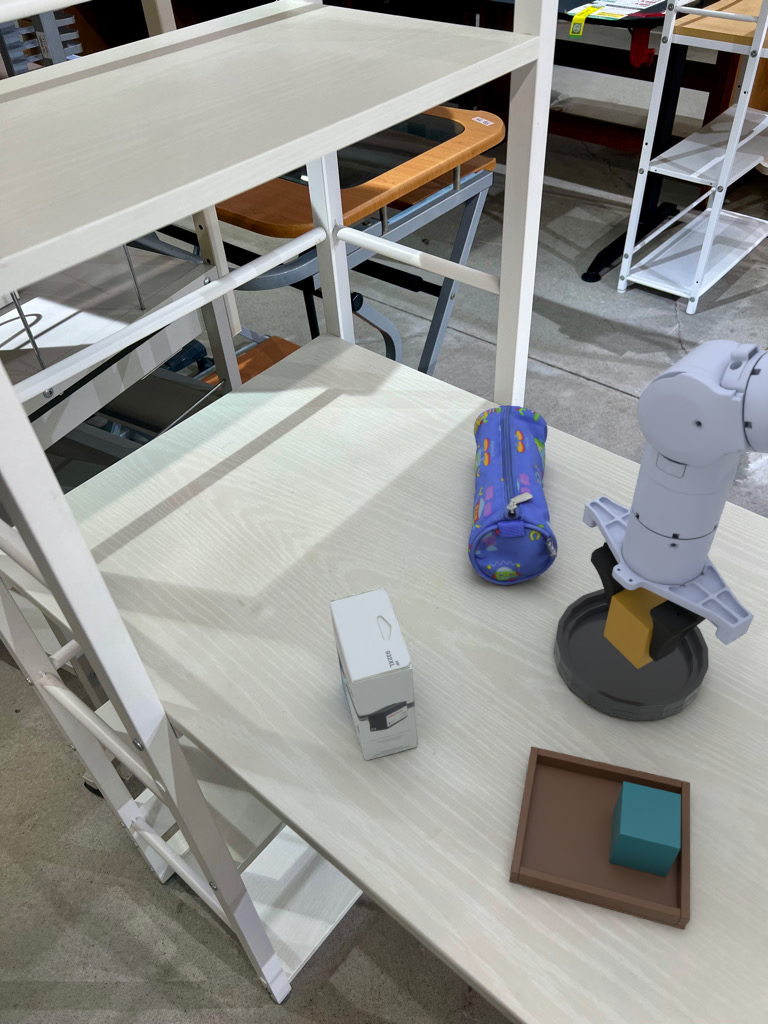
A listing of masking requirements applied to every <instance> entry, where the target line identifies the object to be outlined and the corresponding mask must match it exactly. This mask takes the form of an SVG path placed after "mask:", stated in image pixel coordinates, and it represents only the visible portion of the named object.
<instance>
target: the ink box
mask: <svg viewBox="0 0 768 1024" xmlns="http://www.w3.org/2000/svg"><path fill="white" fill-rule="evenodd" d="M328 603H329V611H330V617H331V622H332V630H333V634H334V641H335V647H336V653H337V659H338V664H339V665H338V666H339V672H340V677H341V684H342V687H343V690H344V694H345V697H346V701H347V704H348V707H349V711H350V715H351V719H352V722H353V725H354V728H355V731H356V735H357V738H358V742H359V745H360V749H361V752H362V756H363V758H364V760H365V761H370V760H373V759H377V758H381V757H385V756H388V755H392V754H396V753H400V752H404V751H407V750H409V749H414V748H417V747H418V744H419V743H418V733H417V731H418V730H417V718H416V716H417V715H416V705H415V704H416V703H415V687H414V673H413V664H412V658H411V655H410V652H409V649H408V646H407V643H406V640H405V638H404V635H403V633H402V630H401V626H400V624H399V621H398V618H397V616H396V613H395V610H394V607H393V604H392V601H391V599H390V595H389V592H388V591H387V590H385V588H384V587H381V586H380V587H376V588H372V589H368V590H364V591H360V592H357V593H353V594H349V595H345V596H342V597H338V598H334V599H331V600H329V602H328Z"/></svg>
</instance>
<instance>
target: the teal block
mask: <svg viewBox="0 0 768 1024" xmlns="http://www.w3.org/2000/svg"><path fill="white" fill-rule="evenodd" d="M680 839H681V795H680V794H676V793H672V792H668V791H664V790H659V789H655V788H651V787H646V786H642V785H638V784H633V783H629V782H625V781H623V784H622V787H621V790H620V793H619V796H618V799H617V802H616V805H615V808H614V811H613V819H612V832H611V846H610V859H609V862H610V863H613V864H617V865H620V866H624V867H628V868H632V869H636V870H640V871H644V872H647V873H651V874H655V875H659V876H663V877H666V876H667V874H668V872H669V870H670V868H671V866H672V864H673V862H674V860H675V858H676V856H677V854H678V852H679V850H680Z"/></svg>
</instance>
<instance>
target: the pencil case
mask: <svg viewBox="0 0 768 1024" xmlns="http://www.w3.org/2000/svg"><path fill="white" fill-rule="evenodd" d="M548 431H549V430H548V423H547V422H546V419H545V418H544V417H543V415H541V414H540V413H539V412H538V411H535V410H533V409H530V408H527V407H522V406H520V405H511V404H510V405H499V406H498V407H492V408H489V409H486V410H484V411H483V412H481V413H480V414H479V415H478V416H477V417H476V419H475V421H474V424H473V436H474V439H475V444H476V449H475V451H476V452H475V462H474V463H475V464H474V475H475V477H474V479H475V480H474V490H475V491H474V499H473V507H472V522H471V529H470V532H469V536H468V545H467V555H468V559H469V563H470V565H471V566H472V568H473V570H474V571H475V572H476V573H477V574H478V575H479V576H480V577H481V578H483V580H486V581H488V582H490V583H492V584H497V585H500V586H510V585H516V584H519V583H522V582H525V581H529V580H532V579H535V578H537V577H538V576H541V575H542V574H544V573H546V572H547V571H548V570H549V569H550V568H551V566H552V565H553V564H554V562H555V560H556V559H557V557H558V541H557V538H556V535H555V533H554V532H553V530H552V528H551V518H550V511H549V508H548V503H547V500H546V496H545V492H544V476H545V470H546V442H547V439H548Z"/></svg>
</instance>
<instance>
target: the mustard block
mask: <svg viewBox="0 0 768 1024" xmlns="http://www.w3.org/2000/svg"><path fill="white" fill-rule="evenodd" d="M666 600H668V599H666V598H663V597H661V596H659V595H657V594H655V593H653V592H651V591H649V590H647V589H645V588H643V587H639V588H637V589H635V590H628V589H624V590H623V591H621V592H619V593H617V594H615V595H613V596H612V599H611V604H610V608H609V613H608V617H607V621H606V626H605V630H604V636H605V637H606V638H607V639H608V640H609V641H610V642H611V643H612V644H613V645H614V646H615V647H616V648H617V649H618V650H619V651H620V652H621V653H622V654H623V655H624V656H625V657H626V658H627V659H628V660H629V661H630V662H631V663H632V664H633V665H634V666H635V667H636V668H637V669H639V668H641V667H642V666H644V665H646V664H647V663H649V662H651V661H653V659H652V658H651V657H650V656H649V647H650V644H651V640H652V637H653V621H652V618H651V615H650V610H651V609H652V608H654V607H656V606H657V605H659V604H661V603H663V602H665V601H666Z"/></svg>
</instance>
